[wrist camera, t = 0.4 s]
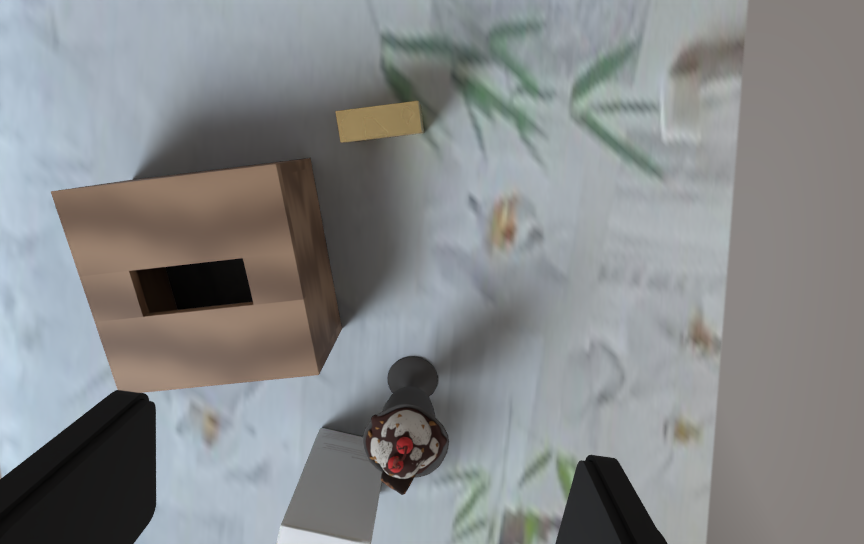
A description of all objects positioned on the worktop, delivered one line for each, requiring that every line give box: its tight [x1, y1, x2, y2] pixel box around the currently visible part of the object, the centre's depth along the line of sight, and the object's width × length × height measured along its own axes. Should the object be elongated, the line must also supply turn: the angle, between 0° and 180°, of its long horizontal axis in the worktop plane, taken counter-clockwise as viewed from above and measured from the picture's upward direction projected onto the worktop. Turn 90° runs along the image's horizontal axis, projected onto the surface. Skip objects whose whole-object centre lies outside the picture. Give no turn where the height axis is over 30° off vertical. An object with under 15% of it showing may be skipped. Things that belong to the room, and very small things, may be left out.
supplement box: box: [276, 428, 382, 544], centre depth 43 cm, size 7×7×13 cm
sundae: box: [363, 357, 449, 495], centre depth 39 cm, size 7×7×15 cm
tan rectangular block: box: [335, 101, 424, 143], centre depth 37 cm, size 2×6×6 cm, turn 97°
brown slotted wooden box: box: [51, 158, 342, 393], centre depth 39 cm, size 16×16×9 cm
